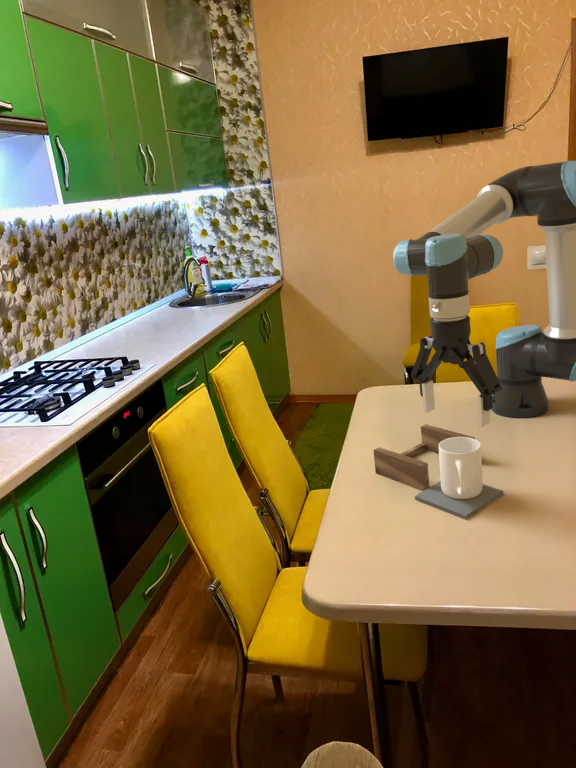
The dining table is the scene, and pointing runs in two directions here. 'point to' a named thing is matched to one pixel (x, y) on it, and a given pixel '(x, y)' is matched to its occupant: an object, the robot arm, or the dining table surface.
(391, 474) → the frame
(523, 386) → the robot arm
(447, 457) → the mug
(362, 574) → the dining table surface
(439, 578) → the dining table surface
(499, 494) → the coaster
